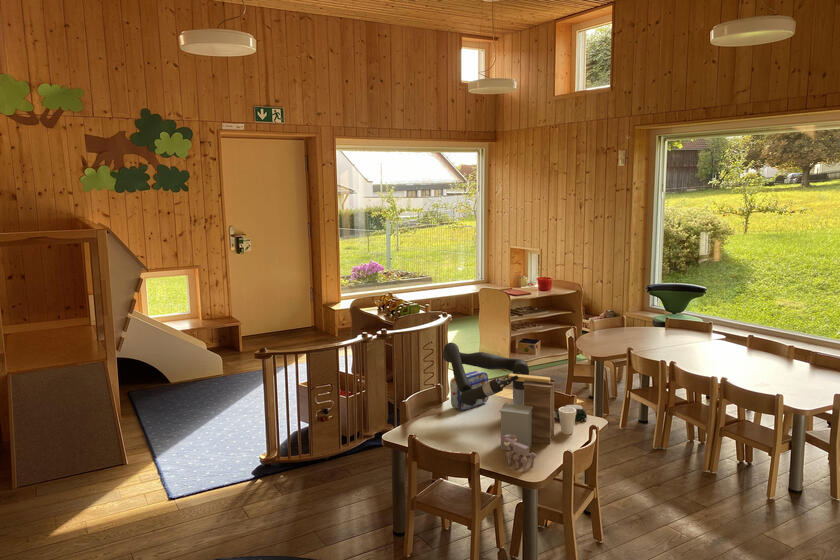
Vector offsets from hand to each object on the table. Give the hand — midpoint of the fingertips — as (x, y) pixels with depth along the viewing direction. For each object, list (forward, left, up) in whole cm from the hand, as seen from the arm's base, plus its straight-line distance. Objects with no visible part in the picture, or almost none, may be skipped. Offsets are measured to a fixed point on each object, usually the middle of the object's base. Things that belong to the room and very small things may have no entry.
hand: (518, 375), depth 349 cm
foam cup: (-13, +24, -35) cm, 44 cm away
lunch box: (-33, -39, -35) cm, 62 cm away
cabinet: (0, +11, -35) cm, 36 cm away
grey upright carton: (+15, +2, -35) cm, 38 cm away
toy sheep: (+33, +6, -35) cm, 49 cm away
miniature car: (-32, +23, -35) cm, 53 cm away
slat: (0, +6, -3) cm, 6 cm away
